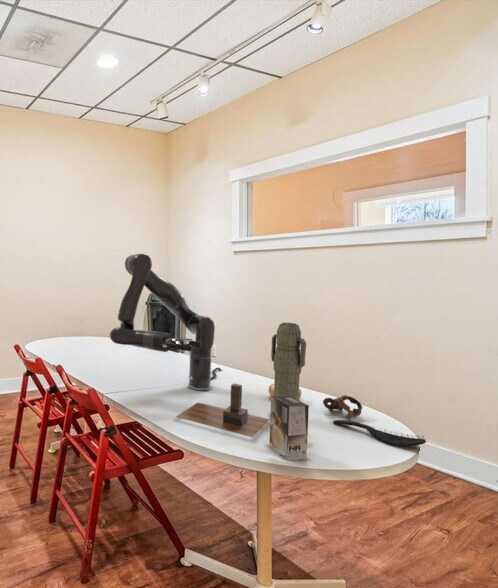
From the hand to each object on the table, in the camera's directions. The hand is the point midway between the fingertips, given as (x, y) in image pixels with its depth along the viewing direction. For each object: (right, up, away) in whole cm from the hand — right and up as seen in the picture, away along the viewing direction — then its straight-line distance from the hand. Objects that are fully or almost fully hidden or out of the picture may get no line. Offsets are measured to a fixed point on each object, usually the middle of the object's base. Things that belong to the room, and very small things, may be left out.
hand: (196, 346), depth 148 cm
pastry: (+44, -25, +19) cm, 54 cm away
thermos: (+33, -26, 0) cm, 42 cm away
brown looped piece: (+55, -26, +2) cm, 61 cm away
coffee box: (+17, -28, -28) cm, 44 cm away
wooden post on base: (+11, -25, -8) cm, 29 cm away
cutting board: (+7, -26, -5) cm, 28 cm away
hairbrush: (+54, -28, -16) cm, 62 cm away
